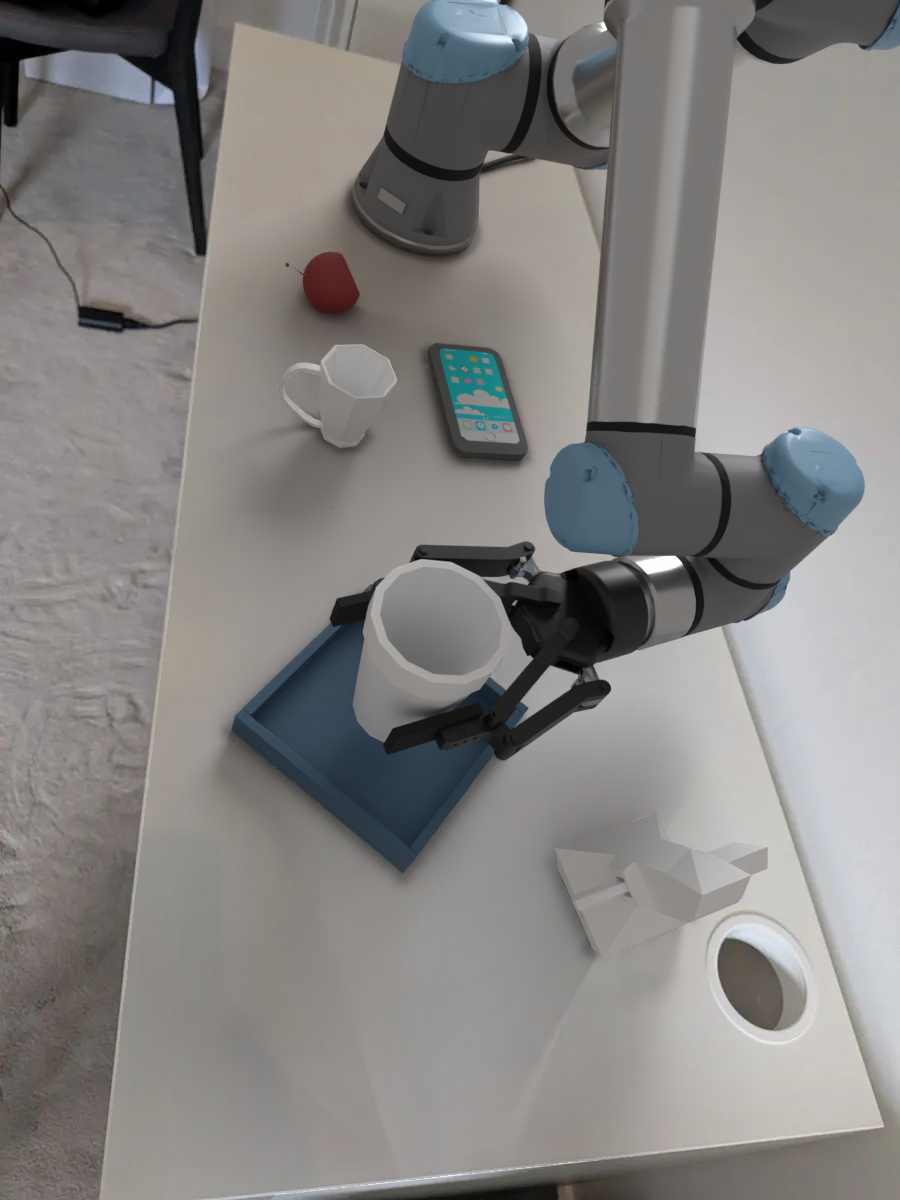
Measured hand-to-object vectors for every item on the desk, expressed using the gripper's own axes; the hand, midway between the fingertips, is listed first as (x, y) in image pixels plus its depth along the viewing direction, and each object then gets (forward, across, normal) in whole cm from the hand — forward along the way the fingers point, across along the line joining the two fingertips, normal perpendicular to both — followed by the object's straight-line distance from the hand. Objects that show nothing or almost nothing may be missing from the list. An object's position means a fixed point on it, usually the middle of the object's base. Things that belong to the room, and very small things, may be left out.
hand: (361, 675), depth 61 cm
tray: (-4, 0, -11) cm, 12 cm away
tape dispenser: (-16, -18, -11) cm, 27 cm away
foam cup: (-4, 0, -8) cm, 9 cm away
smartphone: (-28, +31, -11) cm, 43 cm away
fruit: (-16, +47, -11) cm, 51 cm away
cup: (-11, +30, -11) cm, 34 cm away
